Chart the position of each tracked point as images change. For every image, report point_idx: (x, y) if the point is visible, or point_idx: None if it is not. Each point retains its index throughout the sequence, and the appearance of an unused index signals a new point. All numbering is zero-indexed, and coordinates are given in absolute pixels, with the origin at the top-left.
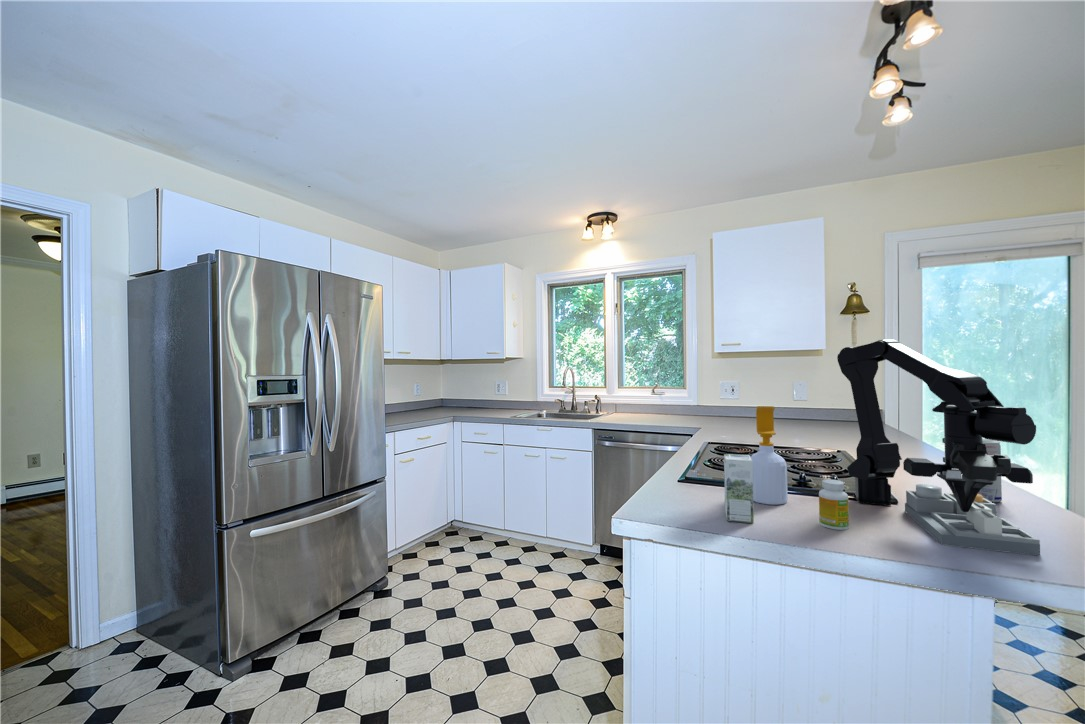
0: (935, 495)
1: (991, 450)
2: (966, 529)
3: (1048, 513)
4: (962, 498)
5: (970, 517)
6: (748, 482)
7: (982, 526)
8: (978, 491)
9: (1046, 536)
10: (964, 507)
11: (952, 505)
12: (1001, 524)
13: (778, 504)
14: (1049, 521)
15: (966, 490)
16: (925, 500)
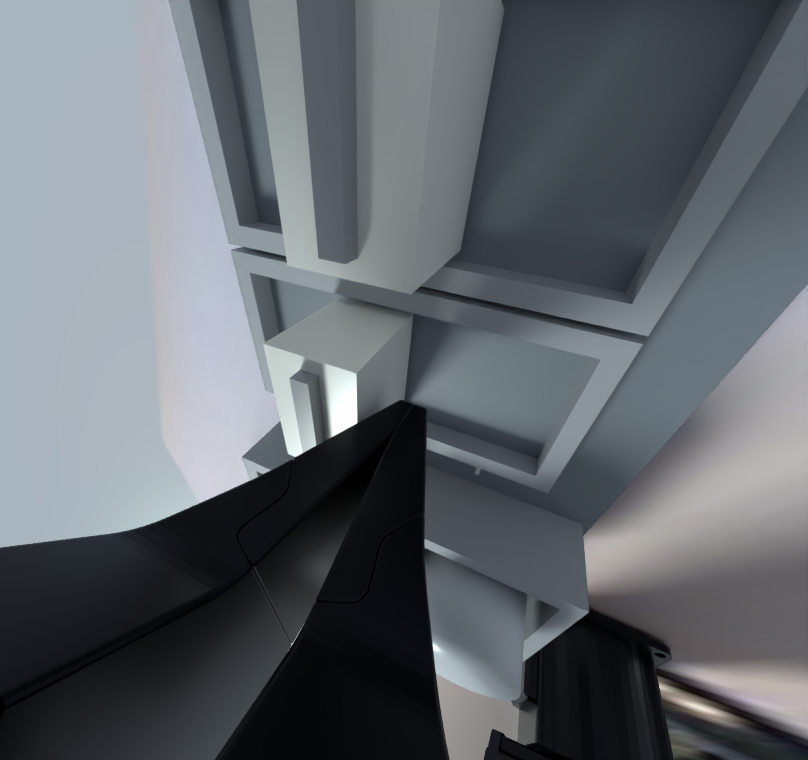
0: (458, 592)
1: None
2: (520, 239)
3: (196, 464)
4: (397, 486)
5: (396, 389)
6: None
7: (476, 47)
8: (204, 505)
9: (209, 325)
10: (413, 422)
11: None
12: None
13: None
14: (197, 427)
15: (304, 565)
16: (534, 577)
